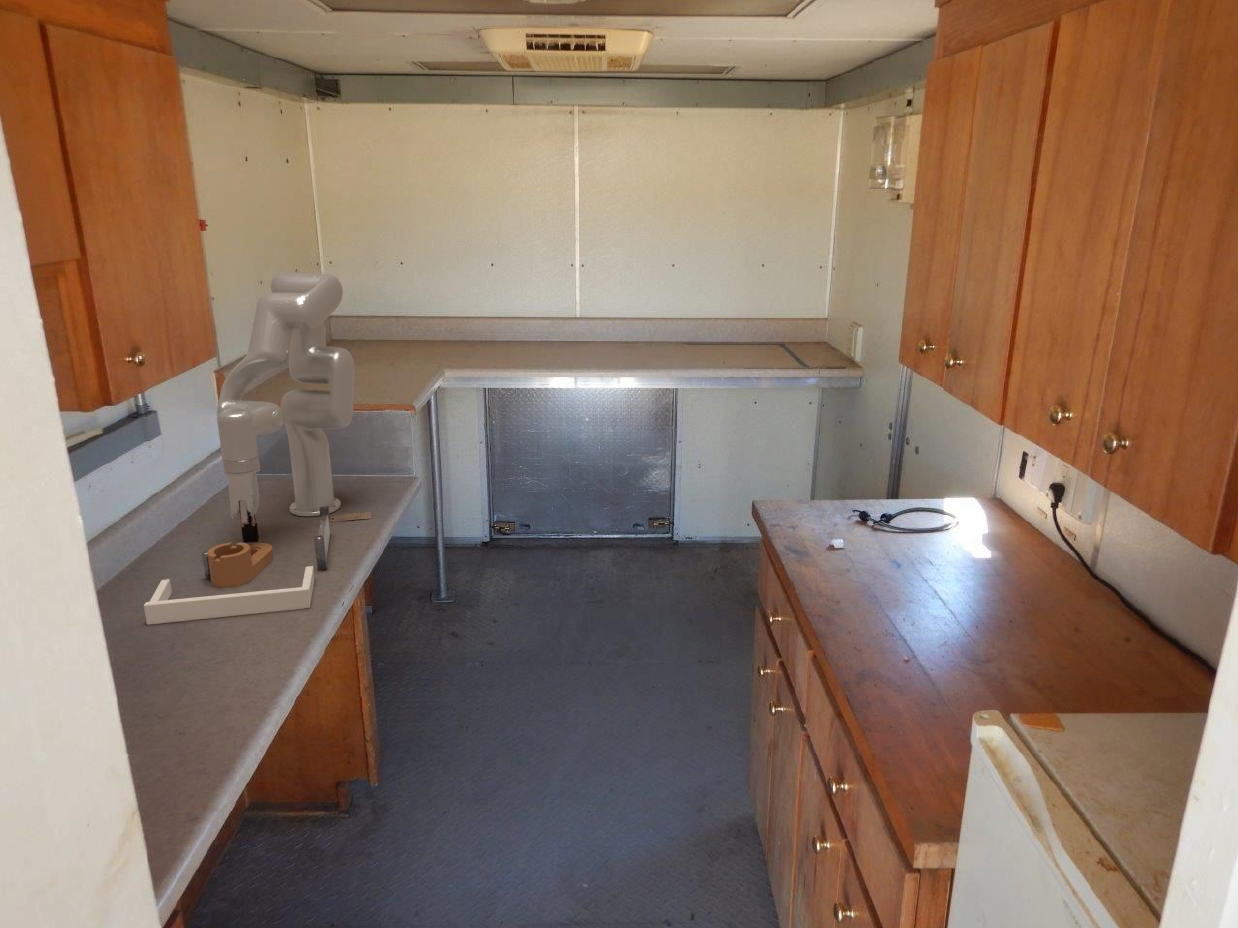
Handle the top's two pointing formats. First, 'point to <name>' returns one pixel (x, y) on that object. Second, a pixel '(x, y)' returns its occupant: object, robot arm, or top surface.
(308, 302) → the robot arm
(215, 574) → the bracket
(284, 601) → the white u-shaped frame
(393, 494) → the top surface
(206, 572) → the post
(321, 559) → the hinge post
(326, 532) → the gate
